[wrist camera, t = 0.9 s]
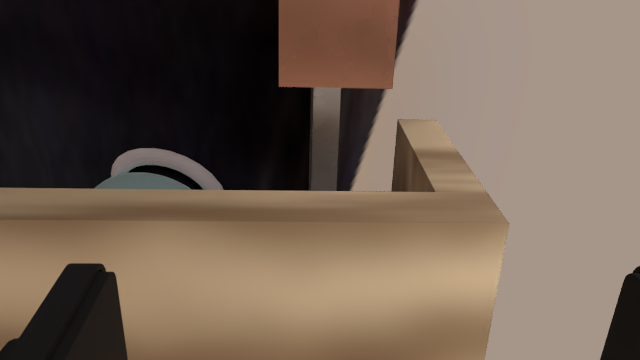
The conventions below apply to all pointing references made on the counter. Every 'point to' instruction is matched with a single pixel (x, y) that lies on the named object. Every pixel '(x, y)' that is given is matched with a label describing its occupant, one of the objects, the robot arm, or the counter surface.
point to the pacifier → (154, 181)
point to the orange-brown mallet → (334, 64)
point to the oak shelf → (275, 263)
